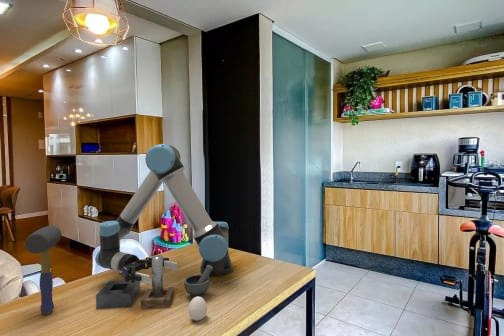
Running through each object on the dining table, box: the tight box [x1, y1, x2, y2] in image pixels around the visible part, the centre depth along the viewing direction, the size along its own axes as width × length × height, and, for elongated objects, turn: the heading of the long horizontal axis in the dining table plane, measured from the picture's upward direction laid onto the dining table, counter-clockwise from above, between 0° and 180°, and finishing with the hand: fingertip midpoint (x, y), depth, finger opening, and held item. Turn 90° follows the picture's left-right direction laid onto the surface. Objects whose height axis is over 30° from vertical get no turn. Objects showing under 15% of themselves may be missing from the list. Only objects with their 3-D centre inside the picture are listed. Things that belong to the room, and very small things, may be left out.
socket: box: [95, 279, 141, 310], centre depth 113 cm, size 12×12×5 cm
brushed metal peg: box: [151, 254, 164, 298], centre depth 111 cm, size 4×4×16 cm
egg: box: [188, 296, 208, 321], centre depth 99 cm, size 6×6×8 cm
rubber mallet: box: [24, 225, 62, 315], centre depth 103 cm, size 12×8×30 cm, turn 13°
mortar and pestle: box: [183, 265, 213, 302], centre depth 115 cm, size 11×9×12 cm
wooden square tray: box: [140, 286, 175, 310], centre depth 111 cm, size 10×10×3 cm
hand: (163, 273), depth 109 cm, fingers open, 13 cm apart
